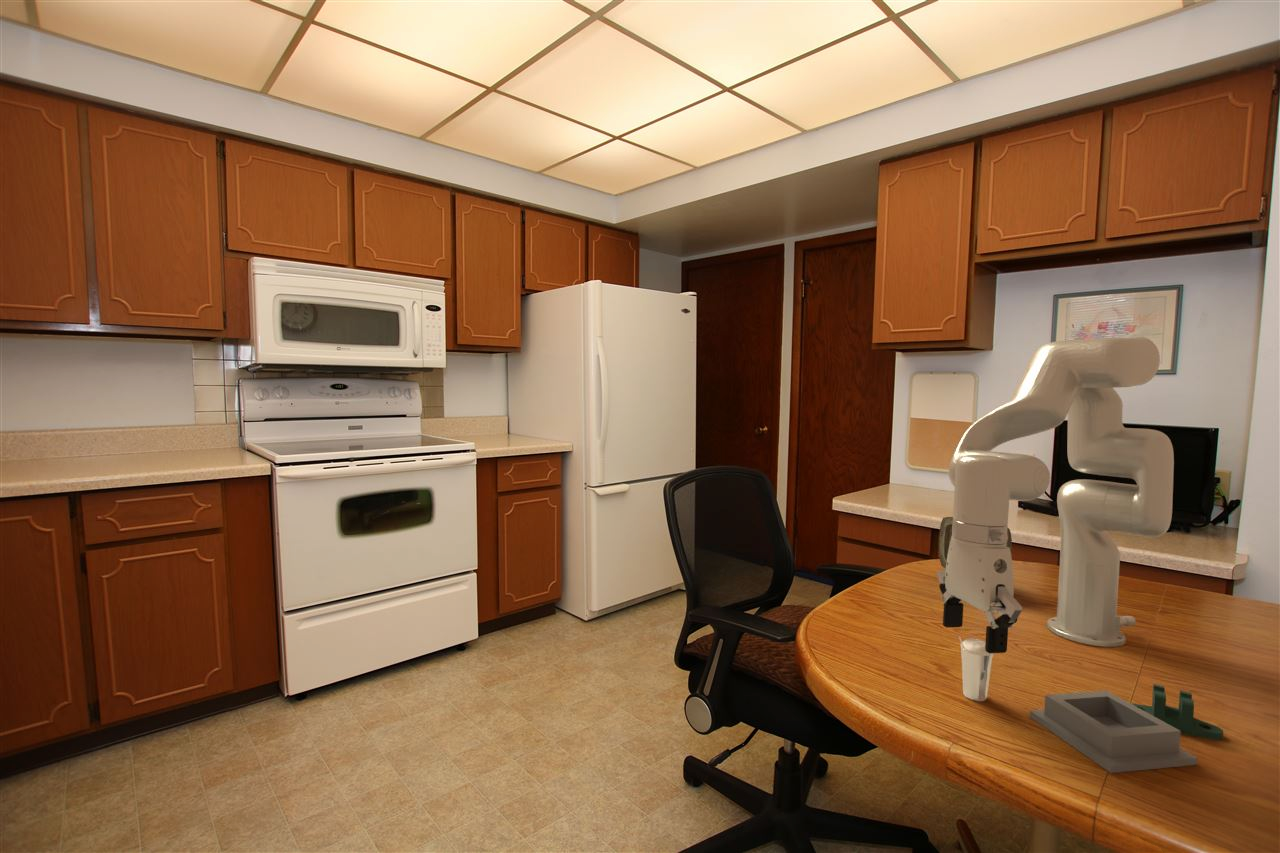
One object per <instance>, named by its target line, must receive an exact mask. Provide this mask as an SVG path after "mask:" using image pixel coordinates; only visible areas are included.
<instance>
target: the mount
mask: <svg viewBox="0 0 1280 853" xmlns="http://www.w3.org/2000/svg"><path fill="white" fill-rule="evenodd" d="M1152 684H1153V685H1152V701H1151V705H1146V704H1145V705H1144V704H1138V703H1131V702H1130V703H1131V704H1132V705H1134V706H1136V707H1138V708H1140V709H1142V710H1143V711H1145V712H1147V713H1149V714H1151V715H1153V716H1154V717H1156V718H1158V719H1160V720H1162V721H1163V722H1165V723H1167V724H1169V725H1171V726H1173V727H1174V728H1176V729H1178V730H1180V731H1181V732H1180V734H1184V735H1187V736H1191V737H1196V738H1203V739H1207V740H1209V739H1210V740H1214V741H1222V740H1223V739H1224V730H1223V729H1222V728H1221V727H1219V726H1217V725H1214V724H1211V723H1209V722H1206V721H1204V720H1202V719H1198V718H1195V717H1194V713H1195V703H1194V699H1192V698H1193V694H1192V692H1188V691H1185V690H1179V693H1178V694H1179V698H1178V708H1176V707H1173V706H1170V705H1167V694H1166V692H1165V689H1166V688H1165V686H1164V685H1161V684H1160V685H1159V684H1156V683H1152Z"/></svg>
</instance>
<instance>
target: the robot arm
mask: <svg viewBox="0 0 1280 853" xmlns="http://www.w3.org/2000/svg"><path fill="white" fill-rule="evenodd" d="M1160 361H1161V356H1160V352H1159V348H1158V346H1157V345H1156V343H1154V341H1152V340H1151V339H1149V338H1147V337H1101V338H1085V339H1066V340H1056V341H1050V342H1048V343H1045V344H1043V345H1041V346H1040V347H1038V349H1037V350H1036V351H1035V352H1034V354H1033V356H1032V357H1031V360H1030V361H1029V362H1028V365H1027V367H1026V369H1025V371H1024V373H1023V375H1022V377H1021V380H1020V381H1019V383H1018V386H1017V387H1016V389H1015V391H1014V393H1013V395H1012V397H1011V399H1010V400H1009V401H1008V402H1006V403H1004V404H1002V405H1001V406H998V407H997V408H995V409H993V410H991V411H990V412H989V413H987V414H985V415H984V416H982V417H981V418H979V419H977V421H975V422H974V423H973V424H971V425H970V426H969V427H968V428H967V430H966V431H965V432H964V433H963V434H962V437H961V439H960V441H959V442H958V444H957V446H956V448H955V449H954V451H953V455H952V456H951V459H950V463H949V466H948V475H949V476H948V477H949V480H950V483H951V485H953V486H954V494H953V511H952V517H953V525H952V537H951V541H950V545H949V550H948V555H947V562H946V569H945V568H944V569H941V570H937V578H938V583H939V584H938V585H939V590H940V592H941V600H942V602H943V612H942V613H943V614H942V615H943V616H942V626H943V627H945V628H961V627H963V624H964V623H963V619H964V603H966V604H968V605H970V606H972V607H973V608H976V609H978V610H980V611H983V612H984V614H985V616H986V619H987V621H988V623H989V625H987V626H986V629H985V630H986V631H985V642H986V643H985V650H986V652H988V653H993V654H1004V653H1007V651H1008V636H1009V629H1012V628H1013V625H1015V623H1017V621H1018V618H1019V617H1020V615H1021V613H1022V612H1023V606H1021V604H1020V603H1019V602H1018V601H1017V599H1016V598H1014V594H1015V593H1014V592H1015V591H1014V586H1015V585H1014V584H1015V583H1014V582H1015V581H1014V568H1013V559H1012V558H1013V557H1012V554H1011V552H1010V548H1009V547H1006V545H1007V540H1008V536H1007V529H1008V526H1009V525H1008V524H1009V511H1010V510H1009V506H1010V501H1019V502H1020V501H1021V502H1028V501H1029V502H1030V501H1034V500H1036V499H1038V498H1040V497H1041V496H1043V495H1044V494H1045V492H1046V491H1047V490H1048V488H1049V485H1050V481H1051V476H1050V475H1051V474H1050V470H1049V468H1048V466H1047V464H1046V463H1045V462H1044V461H1043V460H1041V459H1040V458H1038V457H1035V456H1033V455H1030V454H1029V455H1028V454H1021V453H1010V452H1001V451H992V450H993V449H995V448H997V447H998V446H1001V445H1002V444H1004V443H1007V442H1010V441H1013V440H1016V439H1020V438H1021V439H1022V438H1025V437H1030V436H1033V435H1037V434H1040V433H1043V432H1047V431H1050V430H1052V429H1055V428H1057V427H1058V426H1060V425H1061V424H1063V422H1065V420H1066V417H1067V440H1066V441H1067V459H1068V463H1069V466H1070V467H1071V468H1072V469H1073V470H1075V471H1077V472H1080V473H1083V474H1089V475H1090V474H1091V475H1097V476H1107V477H1116V478H1117V477H1118V478H1126V479H1132V480H1133V481H1135V483H1136V484H1130V483H1122V482H1121V483H1120V482H1114V481H1106V480H1096V479H1074V480H1069V481H1067V482H1065V483H1063V484H1062V485H1061V486H1060V487H1059V489H1058V492H1057V496H1056V497H1057V498H1056V503H1057V511H1058V517H1059V524H1060V526H1059V528H1060V552H1059V571H1058V585H1057V586H1058V587H1057V588H1058V590H1057V608H1056V616H1054V617H1050V618H1048V619H1047V622H1046V623H1047V624H1046V627H1047V628H1048V629H1049V631H1051V632H1052V633H1054V634H1055V635H1057V636H1060V637H1062V638H1064V639H1066V640H1069V641H1073V642H1076V643H1079V644H1084V645H1088V646H1089V645H1090V646H1096V647H1103V648H1104V647H1106V648H1113V647H1114V648H1116V647H1120V646H1123V645H1124V644H1125V643H1126V636H1125V635H1124V633H1123V632H1121V631H1120V628H1121V629H1122V628H1123V627H1132V626H1135V624H1136V622H1137V621H1136V618H1135V617H1134V616H1132V615H1118V614H1117V610H1118V598H1119V597H1118V591H1119V579H1120V563H1121V562H1120V561H1121V554H1120V551H1119V548H1118V546H1117V544H1116V542H1115V540H1114V538H1112V536H1111V535H1110V534H1109V532H1116V533H1122V534H1128V535H1132V536H1133V535H1134V536H1139V537H1140V536H1141V537H1144V538H1145V537H1147V538H1157V537H1161V536H1163V535H1164V534H1166V533H1167V531H1168V530H1169V529H1170V526H1171V522H1172V518H1173V516H1172V515H1173V497H1174V496H1173V494H1174V469H1175V467H1174V466H1175V460H1174V459H1175V458H1174V457H1175V455H1174V446H1173V444H1172V441H1171V439H1170V438H1169V437H1168V435H1167V434H1165V433H1164V432H1162V431H1160V430H1157V429H1151V428H1133V427H1132V428H1131V427H1125V426H1124V424H1123V407H1124V406H1123V400H1122V399H1121V397H1120V395H1119V393H1118V392H1117V391H1116V389H1115V388H1129V387H1130V388H1131V387H1137V386H1138V387H1139V386H1143V385H1145V384H1147V383H1149V382H1150V381H1151V380H1152V379H1153V378H1154V377H1155V376H1156V374H1157V372H1158V370H1159V368H1160ZM995 613H997V614H998V617H996V615H995Z"/></svg>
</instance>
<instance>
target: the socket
mask: <svg viewBox="0 0 1280 853" xmlns="http://www.w3.org/2000/svg"><path fill="white" fill-rule="evenodd" d="M1044 695H1045V697H1044V709H1032V710H1029V718H1031V719H1032V720H1033V721H1035V722H1037V723H1038V724H1039V725H1041V726H1042V727H1043V728H1045V729H1046V730H1047V731H1049V732H1051V733H1052V734H1054V735H1055V736H1056V737H1057V738H1059V739H1061V740H1062V741H1064V742H1065V743H1066V744H1068V745H1070V746H1071V747H1072V748H1074V749H1075V750H1077V751H1078V752H1080V754H1083V755H1084V756H1085V757H1087V759H1088V758H1089V759H1090V760H1091V761H1092V762H1094V763H1095V764H1096V765H1098V766H1100V767H1101V768H1103V769H1105V771H1107V772H1108V773H1110V774H1115V773H1116V774H1117V773H1126V772H1137V771H1146V770H1156V769H1167V768H1168V769H1169V768H1178V767H1189V766H1197V765H1198V756H1196V755H1193V754H1192V753H1190V752H1188V751H1187V750H1185V749H1184V748H1182V747H1180V744H1181V733H1180V732H1181V731H1180V730H1178V729H1176V728H1174V727H1173V726H1171V725H1169V724H1167V723H1165V722H1163V721H1162V720H1160V719H1158V718H1156V717H1154V716H1153V715H1151V714H1149V713H1147V712H1145V711H1143V710H1142V709H1140V708H1138V707H1136V706H1134V705H1132V704H1131V702H1129V701H1126V700H1125V699H1123V698H1122V697H1119V696H1117V695H1116V694H1114V693H1112V692H1111V691H1109V690H1096V691H1083V692H1082V691H1081V692H1070V693H1069V692H1068V693H1056V694H1055V693H1054V694H1044Z"/></svg>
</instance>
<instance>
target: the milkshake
mask: <svg viewBox="0 0 1280 853" xmlns="http://www.w3.org/2000/svg"><path fill="white" fill-rule="evenodd" d="M958 638H959V642H960V656H961V674H962V693H963V695H964V697H966V698H967V699H969V700H971V701H976V702H985V701H986V700H987V698H988V691H989V685H990V684H989V683H990V676H991V668H992V661H993V656H994V653H988V652H986V650H985V643H986V641H983V640H981V639H979V638H973V637H968V638H967V637H966V638H965V639H964V640H962V639H961V636H958Z"/></svg>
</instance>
